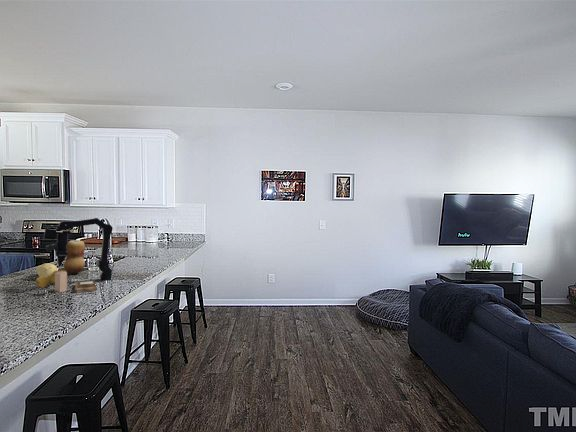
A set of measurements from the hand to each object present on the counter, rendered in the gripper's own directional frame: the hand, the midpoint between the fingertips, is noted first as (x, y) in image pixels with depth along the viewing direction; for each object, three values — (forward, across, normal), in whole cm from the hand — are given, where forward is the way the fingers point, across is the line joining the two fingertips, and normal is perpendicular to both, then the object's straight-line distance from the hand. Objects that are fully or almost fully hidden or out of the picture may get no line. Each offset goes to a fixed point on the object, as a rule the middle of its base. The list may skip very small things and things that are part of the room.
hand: (59, 264), depth 235 cm
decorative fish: (+15, -5, -2) cm, 16 cm away
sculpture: (+15, -29, -4) cm, 32 cm away
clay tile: (+11, +13, +16) cm, 23 cm away
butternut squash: (+13, -38, +13) cm, 42 cm away
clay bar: (+14, +19, +2) cm, 23 cm away
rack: (+13, +19, +14) cm, 27 cm away
